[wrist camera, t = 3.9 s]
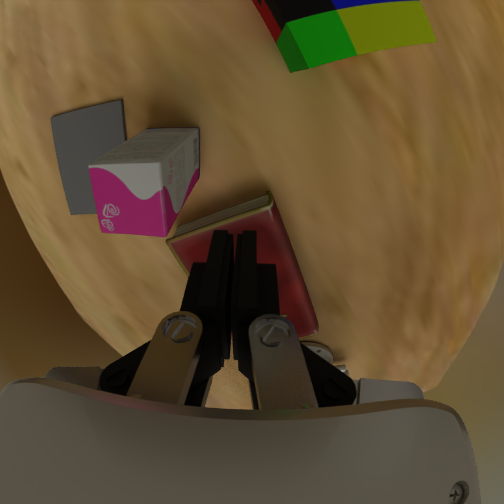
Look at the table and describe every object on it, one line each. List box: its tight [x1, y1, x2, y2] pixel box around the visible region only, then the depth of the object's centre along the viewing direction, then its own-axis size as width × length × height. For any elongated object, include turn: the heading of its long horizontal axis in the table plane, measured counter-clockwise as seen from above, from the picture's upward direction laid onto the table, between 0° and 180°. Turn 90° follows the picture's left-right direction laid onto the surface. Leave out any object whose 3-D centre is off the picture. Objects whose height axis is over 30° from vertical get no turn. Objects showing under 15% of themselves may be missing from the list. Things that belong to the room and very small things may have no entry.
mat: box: [51, 100, 127, 215], centre depth 26 cm, size 10×13×1 cm
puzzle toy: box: [252, 0, 437, 73], centre depth 14 cm, size 10×10×10 cm
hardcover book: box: [165, 191, 319, 339], centre depth 34 cm, size 12×21×4 cm, turn 21°
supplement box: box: [88, 127, 200, 237], centre depth 22 cm, size 6×6×12 cm
